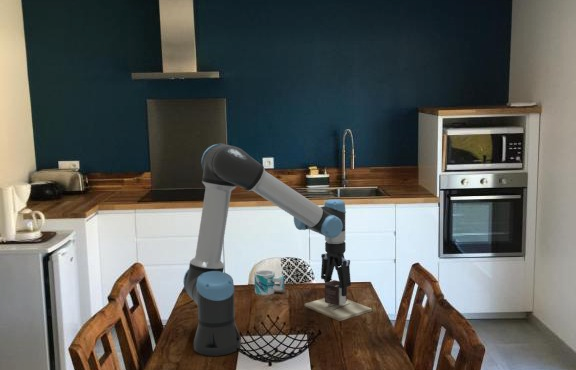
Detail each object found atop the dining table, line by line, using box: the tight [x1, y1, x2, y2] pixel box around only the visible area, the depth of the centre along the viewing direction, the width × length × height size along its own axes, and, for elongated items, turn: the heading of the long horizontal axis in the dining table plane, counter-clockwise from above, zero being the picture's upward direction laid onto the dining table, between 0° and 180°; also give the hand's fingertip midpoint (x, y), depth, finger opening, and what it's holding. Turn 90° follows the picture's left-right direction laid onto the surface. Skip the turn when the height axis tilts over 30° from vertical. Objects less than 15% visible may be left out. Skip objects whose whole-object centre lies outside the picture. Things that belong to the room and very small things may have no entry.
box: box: [324, 279, 348, 305], centre depth 224 cm, size 6×6×7 cm
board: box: [304, 297, 373, 322], centre depth 226 cm, size 16×20×1 cm
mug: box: [254, 269, 285, 296], centre depth 246 cm, size 8×12×8 cm
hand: (335, 301), depth 225 cm, fingers closed on box, 7 cm apart
